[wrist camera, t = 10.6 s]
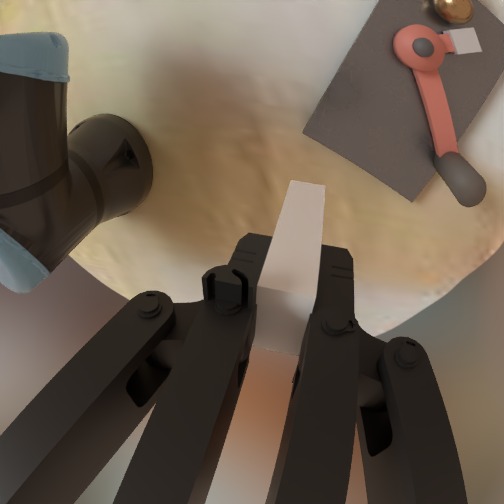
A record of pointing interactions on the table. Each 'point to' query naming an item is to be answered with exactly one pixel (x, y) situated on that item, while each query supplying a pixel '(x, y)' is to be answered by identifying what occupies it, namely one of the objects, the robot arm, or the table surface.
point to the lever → (441, 101)
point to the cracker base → (405, 91)
